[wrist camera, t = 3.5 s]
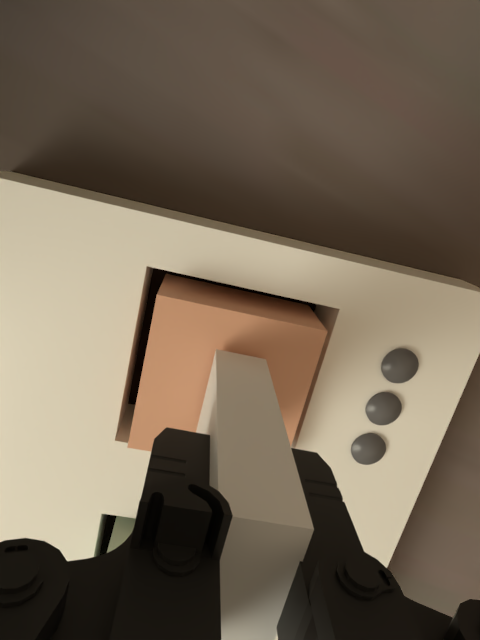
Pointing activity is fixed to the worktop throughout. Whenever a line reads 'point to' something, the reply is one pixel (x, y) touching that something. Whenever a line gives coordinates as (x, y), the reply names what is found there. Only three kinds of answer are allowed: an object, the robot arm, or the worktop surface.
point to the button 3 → (223, 334)
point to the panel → (123, 342)
